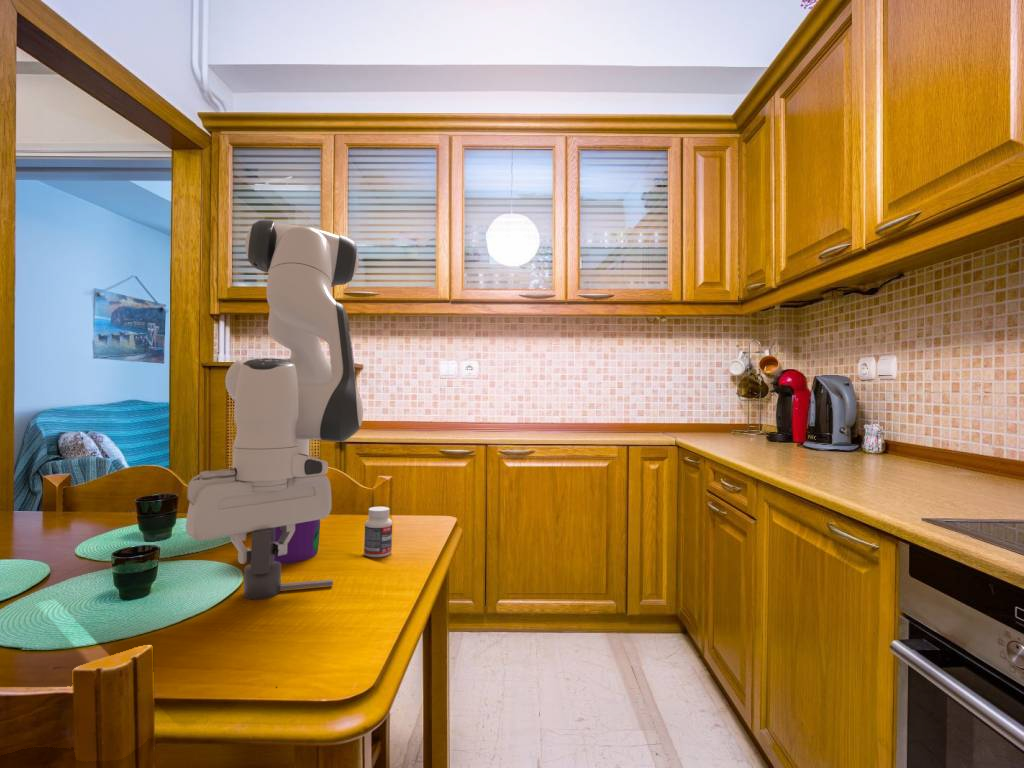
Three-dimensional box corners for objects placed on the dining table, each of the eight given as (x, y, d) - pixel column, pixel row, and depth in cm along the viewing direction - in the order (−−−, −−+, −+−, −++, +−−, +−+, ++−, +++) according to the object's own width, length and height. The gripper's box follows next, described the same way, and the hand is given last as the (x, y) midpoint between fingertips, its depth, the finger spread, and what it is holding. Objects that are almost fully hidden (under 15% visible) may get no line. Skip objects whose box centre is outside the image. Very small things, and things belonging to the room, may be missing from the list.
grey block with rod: (239, 603, 74) (241, 533, 74) (247, 585, 81) (249, 521, 81) (332, 594, 78) (334, 527, 78) (333, 578, 85) (334, 516, 85)
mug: (314, 573, 92) (315, 516, 92) (244, 577, 90) (246, 518, 90) (327, 544, 109) (328, 496, 109) (268, 547, 107) (269, 498, 107)
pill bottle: (384, 559, 99) (385, 512, 100) (359, 556, 101) (360, 510, 101) (395, 550, 105) (396, 506, 105) (371, 548, 106) (372, 504, 106)
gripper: (196, 475, 68) (193, 581, 68) (337, 461, 84) (335, 548, 84) (180, 470, 73) (177, 570, 72) (317, 458, 88) (315, 540, 88)
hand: (263, 558), depth 78 cm, fingers closed on grey block with rod, 4 cm apart
